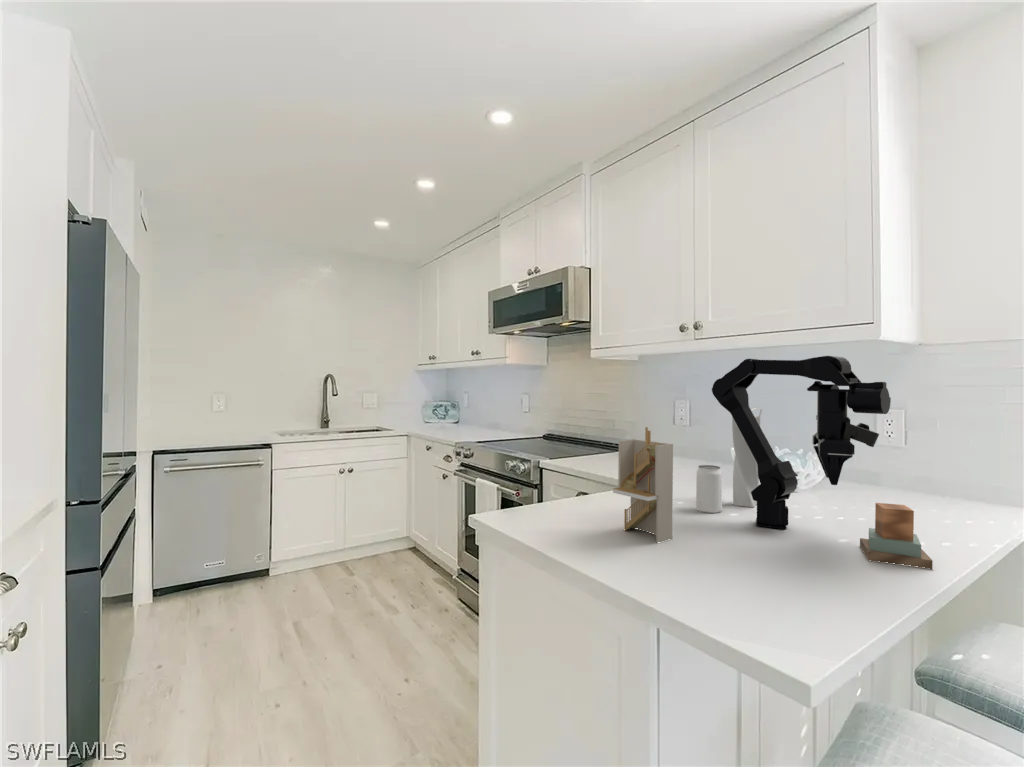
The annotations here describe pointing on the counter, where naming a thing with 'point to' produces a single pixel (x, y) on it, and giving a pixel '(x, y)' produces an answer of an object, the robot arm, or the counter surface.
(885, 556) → the tower base
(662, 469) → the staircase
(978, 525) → the counter surface
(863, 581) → the counter surface
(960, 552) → the counter surface
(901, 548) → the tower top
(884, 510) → the block
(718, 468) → the can
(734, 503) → the skyscraper
